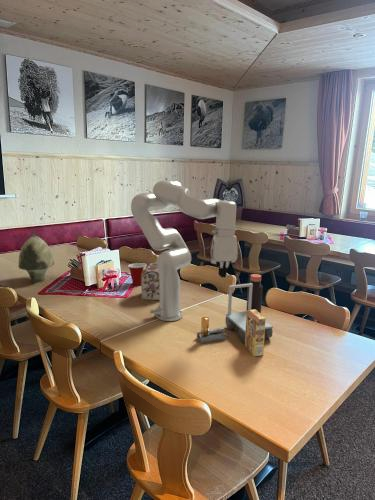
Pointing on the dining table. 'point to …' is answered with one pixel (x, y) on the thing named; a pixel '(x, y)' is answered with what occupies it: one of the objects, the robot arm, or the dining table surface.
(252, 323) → the candy box
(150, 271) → the decorative jar
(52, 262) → the potted topiary
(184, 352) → the dining table surface
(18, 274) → the dining table surface
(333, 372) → the dining table surface
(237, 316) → the trolley
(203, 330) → the stop pin
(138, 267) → the plastic cup
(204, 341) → the pin rail
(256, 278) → the bottle
